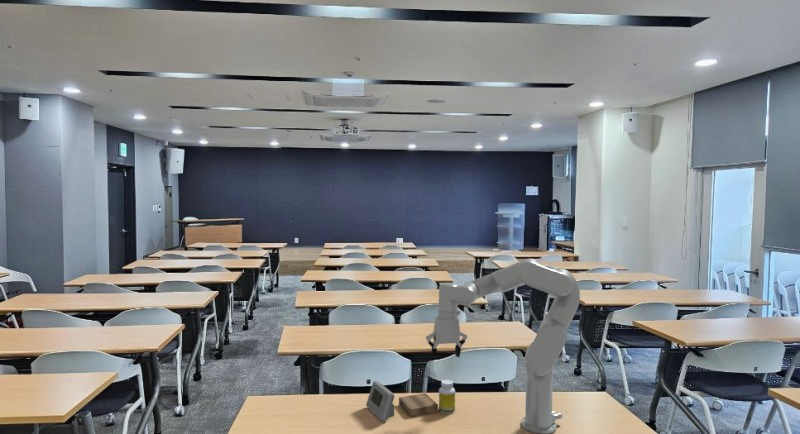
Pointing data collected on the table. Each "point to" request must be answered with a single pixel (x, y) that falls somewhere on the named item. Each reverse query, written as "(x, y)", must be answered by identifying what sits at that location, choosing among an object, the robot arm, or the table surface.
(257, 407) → the table surface
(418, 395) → the walnut block
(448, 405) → the pill bottle
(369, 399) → the digital clock
